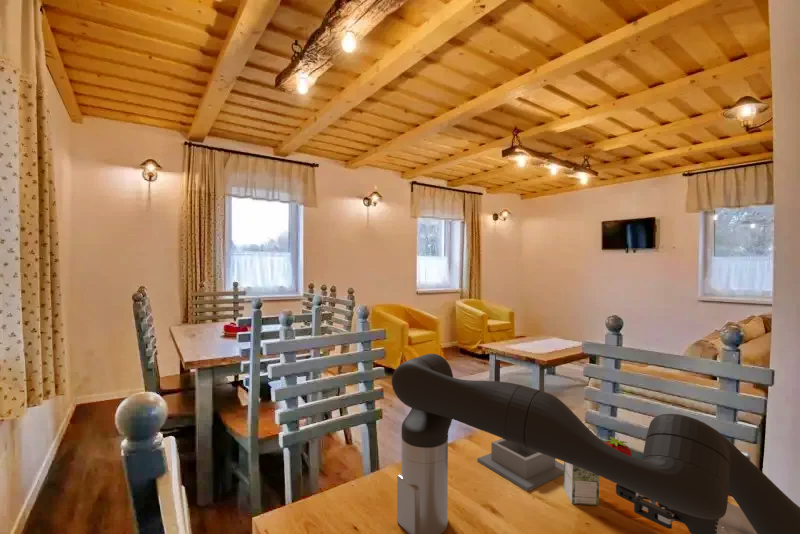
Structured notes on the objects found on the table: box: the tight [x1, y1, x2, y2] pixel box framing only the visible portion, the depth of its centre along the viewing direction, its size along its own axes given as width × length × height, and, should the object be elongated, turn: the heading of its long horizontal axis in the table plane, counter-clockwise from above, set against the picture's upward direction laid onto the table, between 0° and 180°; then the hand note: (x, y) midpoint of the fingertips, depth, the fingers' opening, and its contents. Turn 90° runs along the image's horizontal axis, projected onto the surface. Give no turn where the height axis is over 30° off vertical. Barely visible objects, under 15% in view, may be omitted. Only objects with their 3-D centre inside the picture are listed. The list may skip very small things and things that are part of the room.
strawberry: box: [604, 432, 633, 457], centre depth 98 cm, size 6×8×10 cm
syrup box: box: [563, 428, 600, 506], centre depth 88 cm, size 6×6×14 cm
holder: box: [476, 438, 564, 492], centre depth 102 cm, size 16×16×5 cm
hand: (628, 481), depth 80 cm, fingers open, 8 cm apart
